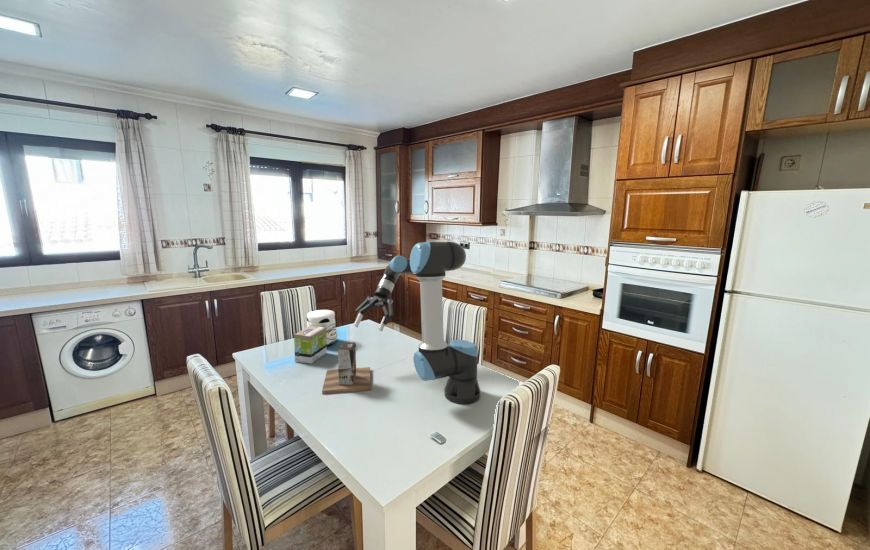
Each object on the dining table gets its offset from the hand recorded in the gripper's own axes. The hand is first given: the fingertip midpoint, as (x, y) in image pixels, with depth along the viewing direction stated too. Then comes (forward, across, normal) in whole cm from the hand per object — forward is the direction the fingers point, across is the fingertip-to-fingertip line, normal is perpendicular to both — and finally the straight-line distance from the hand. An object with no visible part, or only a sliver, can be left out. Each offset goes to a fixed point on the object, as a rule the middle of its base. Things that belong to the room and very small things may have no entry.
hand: (367, 328), depth 165 cm
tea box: (+14, +37, -17) cm, 43 cm away
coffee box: (+24, +2, -5) cm, 25 cm away
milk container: (+1, +46, -30) cm, 55 cm away
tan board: (+24, +4, -7) cm, 25 cm away
